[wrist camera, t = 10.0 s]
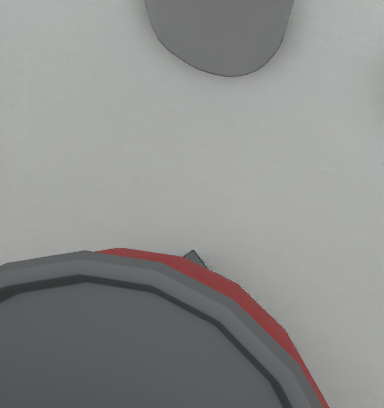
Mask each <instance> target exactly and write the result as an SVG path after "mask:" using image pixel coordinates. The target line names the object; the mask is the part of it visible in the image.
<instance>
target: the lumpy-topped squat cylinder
mask: <svg viewBox="0 0 384 408" xmlns="http://www.w3.org/2000/svg"><path fill="white" fill-rule="evenodd" d="M293 2H294V0H145V4H146V8H147V12H148V15H149V18H150V21H151V24H152V26H153V29H154V31H155V33H156V35H157V37H158V39H159V40H160V41H161V43H162V44H163V45H164V46H165V47H166V48H168V49H169V50H170V51H171V52H173V53H174V54H175V55H176V56H178V57H179V58H181V59H182V60H183V61H185V62H186V63H188V64H190V65H192V66H193V67H196V68H198V69H200V70H203V71H206V72H210V73H213V74H217V75H223V76H240V75H245V74H248V73H251V72H253V71H255V70H257V69H259V68H260V67H262V66H263V65H264V64H265V63H266V62H268V61H269V59H270V58H271V57H272V56H273V55H274V54H275V52H276V51H277V49H278V48H279V46H280V44H281V42H282V39H283V36H284V33H285V29H286V26H287V22H288V19H289V15H290V12H291V8H292V5H293Z"/></svg>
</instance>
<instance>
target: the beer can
mask: <svg viewBox="0 0 384 408" xmlns="http://www.w3.org/2000/svg"><path fill="white" fill-rule="evenodd" d="M0 408H329V406H328V404H327V403H326V401H325V399H324V397H323V395H322V394H321V392H320V390H319V388H318V387H317V385H316V383H315V381H314V380H313V378H312V376H311V374H310V373H309V371H308V369H307V367H306V366H305V364H304V362H303V360H302V359H301V357H300V355H299V353H298V352H297V350H296V348H295V346H294V345H293V343H292V341H291V339H290V338H289V336H288V334H287V332H286V331H285V329H284V328H283V327H282V326H281V325H280V324H279V323H277V322H276V321H275V320H274V319H273V318H272V317H271V316H270V315H269V314H268V313H267V312H266V311H265V310H264V309H263V308H262V307H261V306H260V305H259V304H258V303H257V302H256V301H255V300H254V299H253V298H252V297H251V296H250V295H249V294H247V293H246V292H245V291H244V290H243V289H242V288H241V287H240V286H239V285H238V284H237V283H235V282H233V281H231V280H229V279H227V278H225V277H223V276H221V275H219V274H217V273H215V272H213V271H211V270H209V269H207V268H205V267H203V266H201V265H199V264H197V263H195V262H193V261H191V260H189V259H187V258H185V257H180V256H173V255H167V254H160V253H153V252H147V251H140V250H134V249H127V248H114V249H108V250H102V251H95V252H91V251H79V252H73V253H66V254H60V255H54V256H48V257H42V258H35V259H29V260H23V261H17V262H10V263H6V264H4V265H2V266H0Z"/></svg>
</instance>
